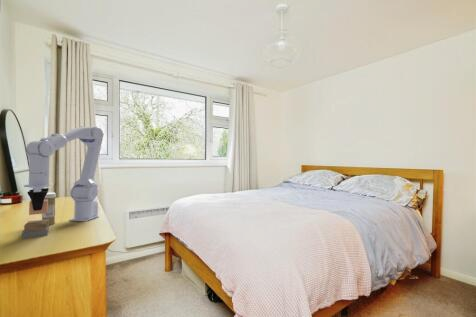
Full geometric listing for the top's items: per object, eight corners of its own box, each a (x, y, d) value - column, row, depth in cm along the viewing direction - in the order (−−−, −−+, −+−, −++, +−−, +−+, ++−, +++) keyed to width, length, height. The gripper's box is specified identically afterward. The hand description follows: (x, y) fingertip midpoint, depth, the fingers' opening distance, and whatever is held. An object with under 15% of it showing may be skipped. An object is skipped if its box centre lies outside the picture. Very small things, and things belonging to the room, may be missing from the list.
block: (30, 212, 86) (30, 200, 86) (47, 210, 89) (47, 199, 89) (29, 214, 82) (29, 202, 82) (47, 213, 85) (47, 201, 85)
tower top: (28, 227, 86) (28, 221, 86) (48, 225, 89) (49, 219, 89) (24, 232, 81) (24, 225, 81) (45, 230, 84) (46, 223, 84)
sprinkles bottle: (55, 222, 101) (56, 192, 101) (53, 224, 97) (54, 193, 97) (42, 223, 99) (43, 192, 99) (39, 226, 95) (40, 194, 95)
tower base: (24, 234, 86) (25, 227, 86) (48, 231, 90) (48, 225, 90) (21, 239, 80) (22, 232, 80) (47, 236, 85) (47, 229, 85)
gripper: (26, 171, 89) (25, 206, 89) (22, 174, 78) (21, 214, 77) (50, 171, 93) (49, 204, 93) (49, 174, 82) (47, 211, 82)
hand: (38, 208), depth 86 cm, fingers closed on block, 5 cm apart
